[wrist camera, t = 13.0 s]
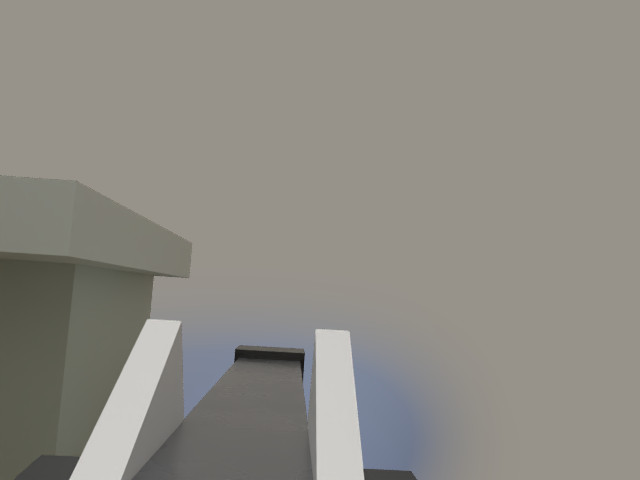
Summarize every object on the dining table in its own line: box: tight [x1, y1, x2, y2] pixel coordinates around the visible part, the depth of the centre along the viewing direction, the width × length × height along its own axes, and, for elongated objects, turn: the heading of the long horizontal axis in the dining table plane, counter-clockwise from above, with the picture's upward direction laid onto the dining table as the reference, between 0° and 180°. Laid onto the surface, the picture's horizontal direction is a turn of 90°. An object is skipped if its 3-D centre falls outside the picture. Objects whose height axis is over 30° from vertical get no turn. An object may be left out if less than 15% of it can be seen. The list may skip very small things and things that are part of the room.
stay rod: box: [132, 345, 313, 480], centre depth 18 cm, size 26×3×3 cm, turn 3°
